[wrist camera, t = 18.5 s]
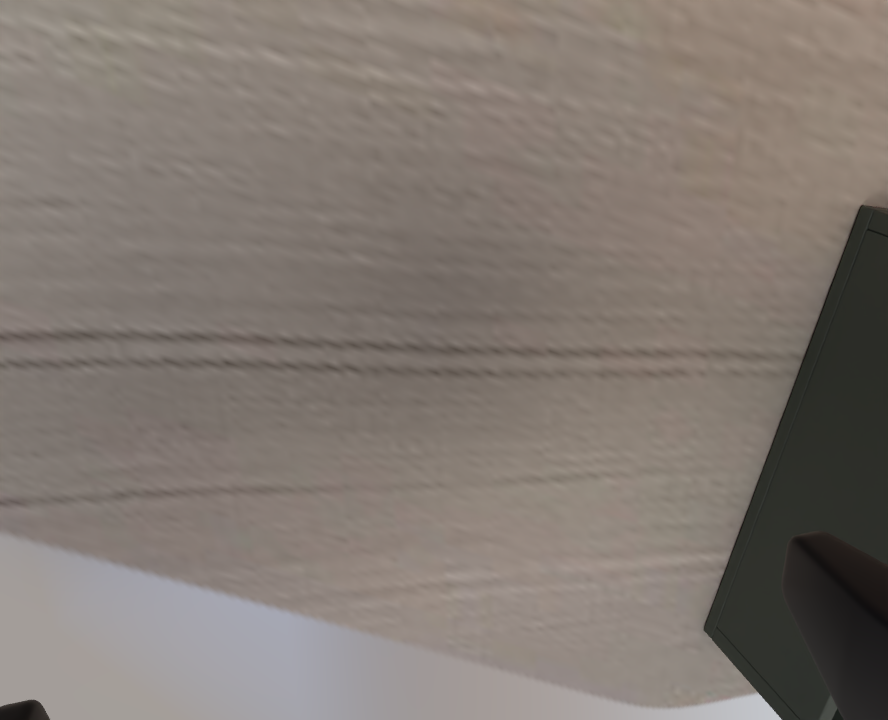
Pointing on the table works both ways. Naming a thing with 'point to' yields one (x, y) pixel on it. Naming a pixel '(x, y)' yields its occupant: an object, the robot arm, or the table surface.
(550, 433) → the table surface
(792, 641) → the bin
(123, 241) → the table surface
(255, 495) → the table surface
